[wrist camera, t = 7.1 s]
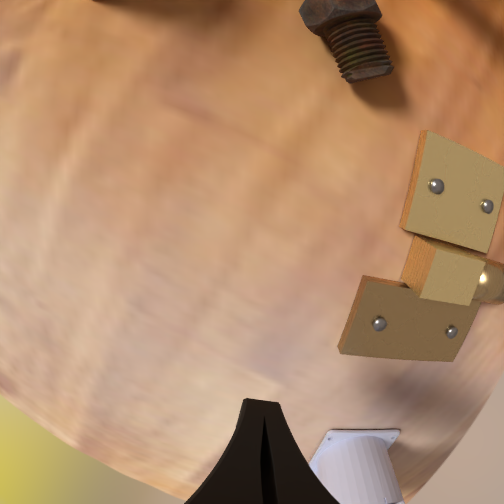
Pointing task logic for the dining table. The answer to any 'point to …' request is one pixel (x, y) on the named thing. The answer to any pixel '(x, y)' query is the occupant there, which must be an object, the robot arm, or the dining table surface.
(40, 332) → the dining table surface
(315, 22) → the bolt
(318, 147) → the dining table surface
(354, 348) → the fixed leaf
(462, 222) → the loose leaf
